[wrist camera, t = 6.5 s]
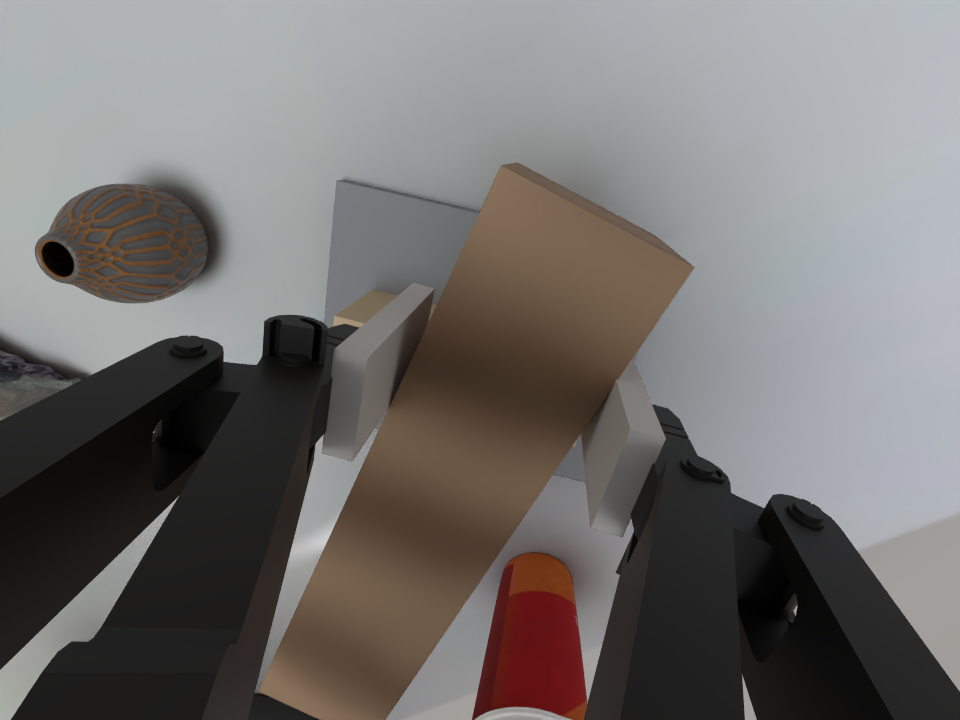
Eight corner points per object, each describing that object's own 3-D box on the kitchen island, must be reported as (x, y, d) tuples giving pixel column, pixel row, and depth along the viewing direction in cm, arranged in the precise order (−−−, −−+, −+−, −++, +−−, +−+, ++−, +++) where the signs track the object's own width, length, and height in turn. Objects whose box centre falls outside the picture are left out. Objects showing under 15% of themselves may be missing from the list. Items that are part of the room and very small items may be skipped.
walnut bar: (404, 634, 25) (369, 742, 20) (314, 591, 25) (258, 691, 20) (655, 235, 16) (694, 267, 11) (517, 162, 16) (501, 165, 11)
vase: (213, 304, 35) (108, 347, 26) (122, 258, 34) (-12, 287, 26) (237, 212, 32) (129, 229, 24) (139, 162, 32) (-5, 161, 23)
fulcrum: (588, 475, 35) (596, 544, 29) (322, 406, 36) (271, 458, 30) (667, 255, 29) (699, 281, 23) (343, 179, 30) (285, 184, 24)
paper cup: (528, 628, 41) (517, 837, 29) (469, 568, 40) (429, 759, 27) (607, 590, 39) (633, 802, 26) (547, 524, 37) (544, 714, 24)
